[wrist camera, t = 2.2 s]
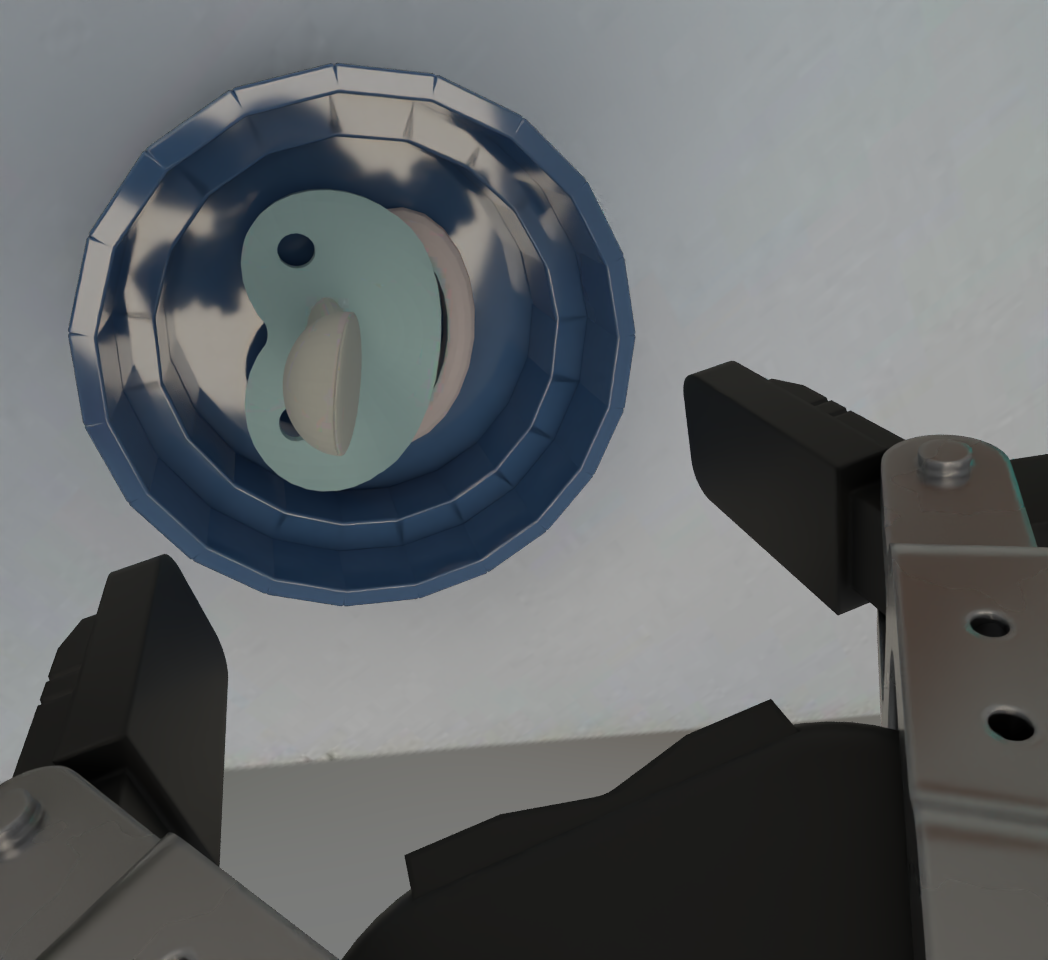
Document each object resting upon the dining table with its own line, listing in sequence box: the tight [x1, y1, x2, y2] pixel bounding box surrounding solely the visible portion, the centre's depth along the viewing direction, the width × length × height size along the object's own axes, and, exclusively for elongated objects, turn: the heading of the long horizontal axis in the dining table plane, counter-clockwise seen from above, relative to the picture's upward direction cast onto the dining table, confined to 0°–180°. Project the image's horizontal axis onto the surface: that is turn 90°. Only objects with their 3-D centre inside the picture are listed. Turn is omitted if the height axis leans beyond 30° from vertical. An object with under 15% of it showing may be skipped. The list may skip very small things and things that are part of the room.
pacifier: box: [241, 189, 475, 491], centre depth 18 cm, size 7×6×6 cm
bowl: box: [68, 63, 635, 606], centre depth 19 cm, size 12×12×4 cm
